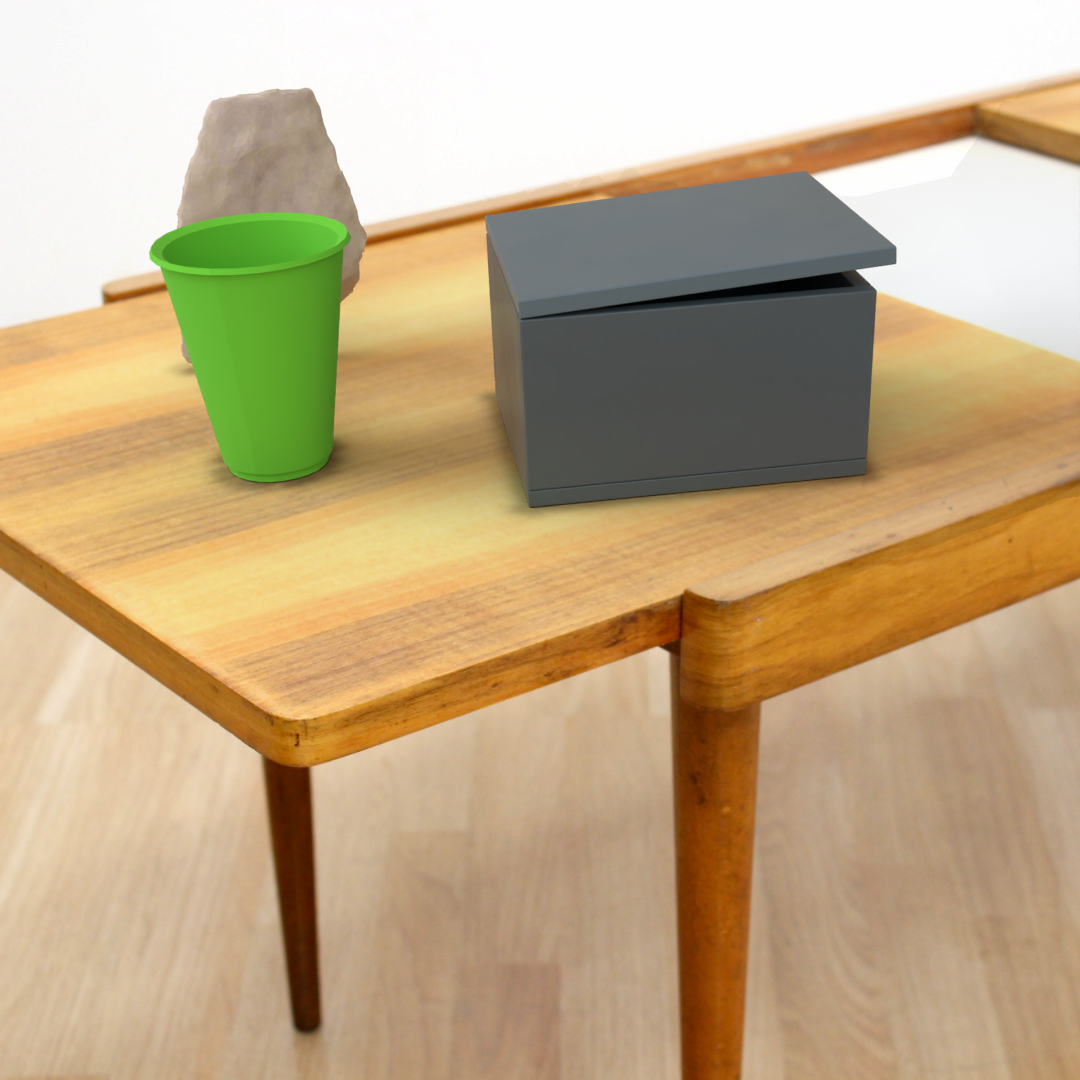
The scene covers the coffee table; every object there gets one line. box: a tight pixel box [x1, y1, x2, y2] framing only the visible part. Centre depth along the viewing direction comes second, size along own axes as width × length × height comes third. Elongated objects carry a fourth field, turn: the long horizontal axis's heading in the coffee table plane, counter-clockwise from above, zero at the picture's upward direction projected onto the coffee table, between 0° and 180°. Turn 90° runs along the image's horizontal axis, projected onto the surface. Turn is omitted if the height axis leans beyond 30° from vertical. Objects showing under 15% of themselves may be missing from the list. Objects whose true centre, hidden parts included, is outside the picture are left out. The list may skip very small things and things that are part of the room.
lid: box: [484, 170, 898, 319], centre depth 72 cm, size 16×14×1 cm
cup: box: [148, 212, 351, 483], centre depth 73 cm, size 9×9×11 cm
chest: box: [485, 232, 878, 508], centre depth 74 cm, size 16×14×9 cm
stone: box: [176, 87, 368, 364], centre depth 84 cm, size 11×3×15 cm, turn 88°
